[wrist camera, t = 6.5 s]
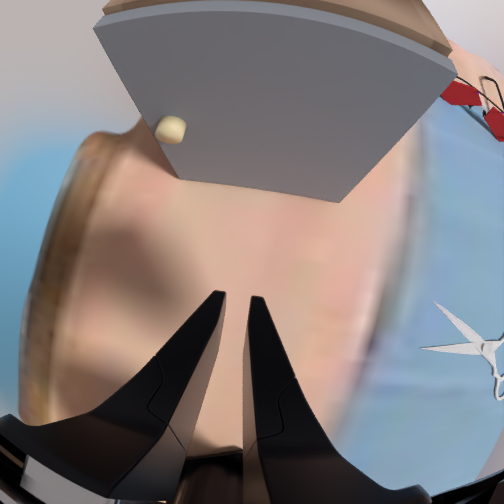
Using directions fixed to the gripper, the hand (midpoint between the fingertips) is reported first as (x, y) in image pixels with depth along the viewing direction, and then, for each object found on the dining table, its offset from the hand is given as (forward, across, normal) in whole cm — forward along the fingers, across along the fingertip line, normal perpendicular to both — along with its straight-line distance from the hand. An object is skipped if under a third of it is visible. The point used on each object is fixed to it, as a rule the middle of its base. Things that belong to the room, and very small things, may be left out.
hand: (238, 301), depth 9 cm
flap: (+12, 0, +1) cm, 12 cm away
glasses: (+29, -26, -14) cm, 41 cm away
